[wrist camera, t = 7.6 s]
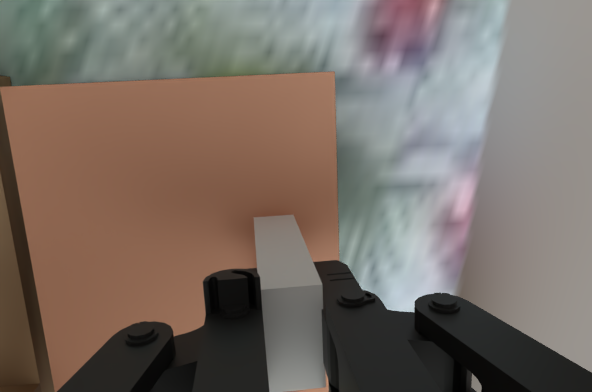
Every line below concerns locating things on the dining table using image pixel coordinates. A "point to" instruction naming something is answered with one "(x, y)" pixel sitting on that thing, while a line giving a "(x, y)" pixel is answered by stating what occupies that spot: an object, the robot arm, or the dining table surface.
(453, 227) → the dining table surface
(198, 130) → the cabinet door
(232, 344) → the robot arm
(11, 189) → the truck
